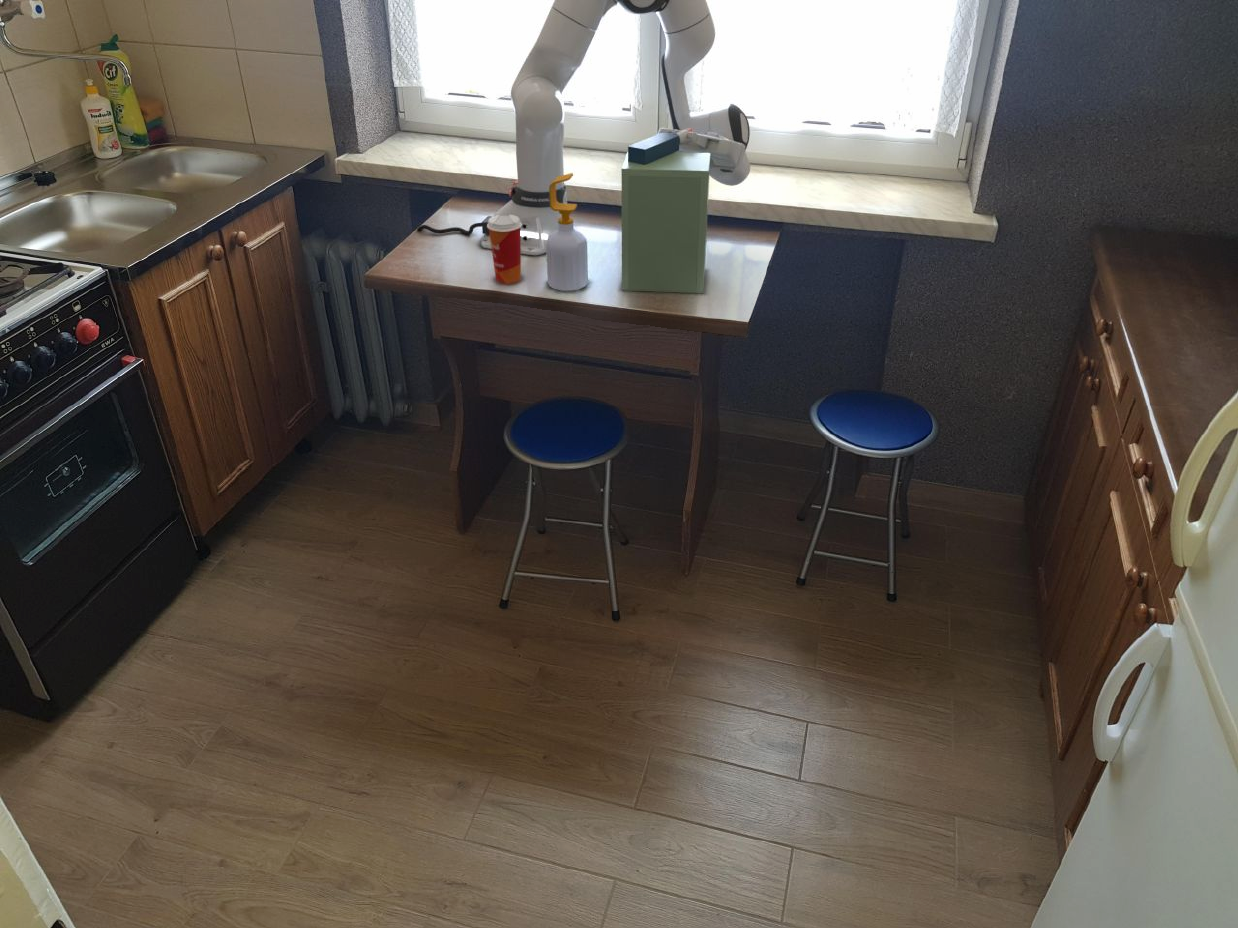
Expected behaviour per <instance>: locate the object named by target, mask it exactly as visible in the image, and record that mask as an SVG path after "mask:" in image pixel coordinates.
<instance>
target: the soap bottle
mask: <svg viewBox="0 0 1238 928" xmlns="http://www.w3.org/2000/svg"><path fill="white" fill-rule="evenodd" d="M573 176H574V173H573V172H570V173H568V174H564V175H562V176H559V177H557V178H556V179H555V180H554V181H553V182H552V183H551V185H550V186H549V196H550V207H551V209H552V210H554V211H559V213H560V214H562V218H559V219H558V230H557V231H555V232H553V233H552V234H551V235H550V236H549V237H548V238H547V242H546V253H545V255H546V271H547V274H546V275H547V285H548V286H549V288H552V289H554V290H557V291H562V292H571V291H572V292H573V291H574V292H575V291H578V290H581V289H583V288H585V287H586V286H587V285H589V284H588V283H589V268H588V267H589V264H588V263H589V261H588V240H587V238H586V236H585V235H584V234H583V233H582V232H580V231H579V230H577V229H575V228H574V226H575V225H574V218H573V217H571V216H570V215H571V214H573V212H575V210H576V209H577V208H578V204H577V203H568V202H567V203H558V201H557V199H556V184H557V183H561V182H564V183H565V182H567V181H569V180H571V179H572V177H573Z"/></svg>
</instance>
